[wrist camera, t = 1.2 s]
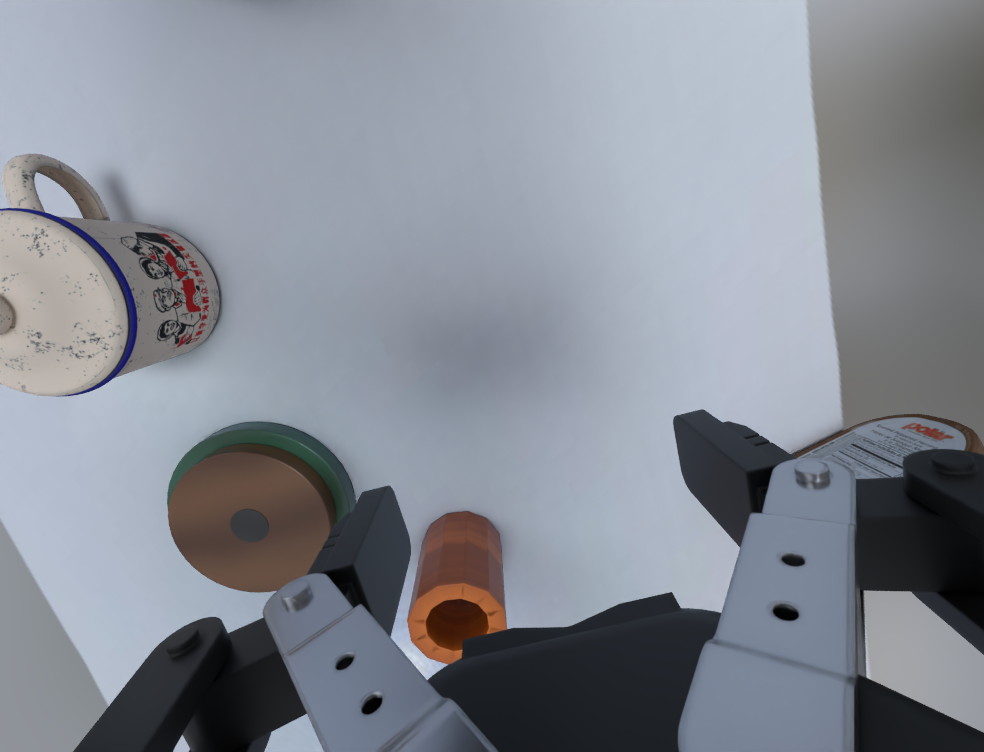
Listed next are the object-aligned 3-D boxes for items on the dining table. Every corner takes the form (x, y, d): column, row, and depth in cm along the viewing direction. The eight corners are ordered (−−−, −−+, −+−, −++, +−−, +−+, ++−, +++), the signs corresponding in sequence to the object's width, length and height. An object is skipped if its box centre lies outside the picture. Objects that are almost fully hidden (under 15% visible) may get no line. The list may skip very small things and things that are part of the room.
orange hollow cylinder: (418, 516, 36) (400, 590, 28) (496, 507, 36) (500, 578, 28) (429, 582, 37) (416, 669, 30) (504, 574, 37) (510, 659, 29)
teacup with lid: (243, 347, 32) (114, 399, 21) (115, 369, 32) (-83, 433, 21) (184, 159, 29) (-6, 100, 18) (42, 184, 29) (-235, 143, 18)
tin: (724, 520, 36) (795, 597, 28) (709, 488, 36) (776, 559, 27) (911, 428, 35) (1042, 482, 27) (898, 393, 34) (1030, 438, 26)
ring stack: (145, 459, 34) (113, 479, 31) (306, 395, 33) (289, 409, 30) (235, 598, 37) (214, 627, 34) (384, 543, 36) (375, 569, 33)
